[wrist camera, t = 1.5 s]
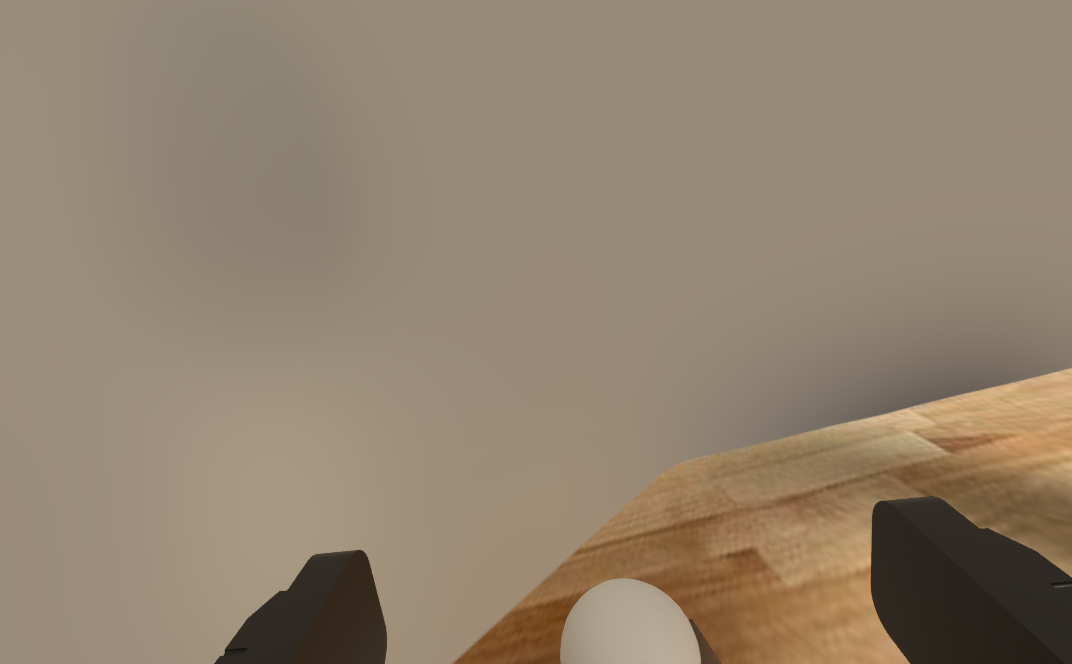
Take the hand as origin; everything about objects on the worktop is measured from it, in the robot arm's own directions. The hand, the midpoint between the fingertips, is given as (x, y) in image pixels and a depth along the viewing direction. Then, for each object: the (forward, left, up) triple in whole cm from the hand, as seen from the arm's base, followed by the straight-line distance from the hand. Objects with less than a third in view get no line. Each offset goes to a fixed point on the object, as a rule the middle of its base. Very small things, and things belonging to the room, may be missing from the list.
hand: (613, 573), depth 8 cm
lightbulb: (-3, -10, -23) cm, 25 cm away
